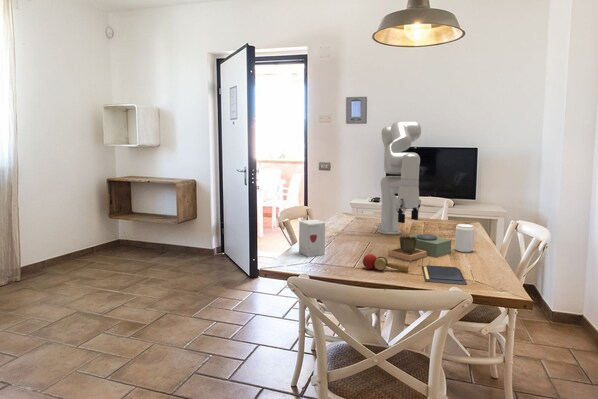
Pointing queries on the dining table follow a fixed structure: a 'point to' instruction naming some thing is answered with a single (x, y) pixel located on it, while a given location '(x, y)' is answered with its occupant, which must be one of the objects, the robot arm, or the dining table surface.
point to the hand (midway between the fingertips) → (408, 221)
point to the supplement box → (312, 238)
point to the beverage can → (464, 238)
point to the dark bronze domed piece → (407, 244)
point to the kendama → (382, 263)
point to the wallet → (443, 275)
